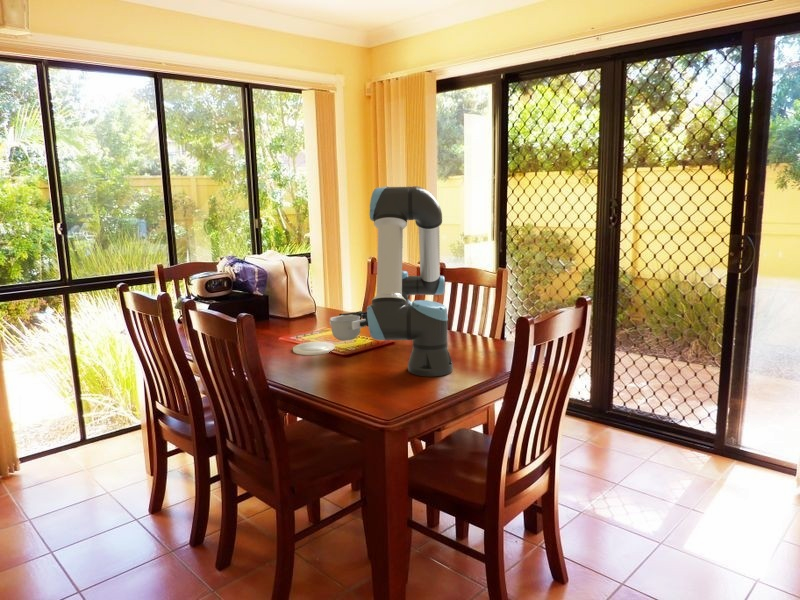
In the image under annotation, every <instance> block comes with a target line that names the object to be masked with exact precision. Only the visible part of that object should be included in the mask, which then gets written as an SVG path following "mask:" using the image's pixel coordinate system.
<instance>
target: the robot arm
mask: <svg viewBox="0 0 800 600" xmlns="http://www.w3.org/2000/svg"><path fill="white" fill-rule="evenodd" d="M442 212H443V211H442V209H441V206H440V204H439V202H438V200H437V199H436V198H435V196H434V195H433V194H432V193H431V192H430V191H429V190H428V189H425V188H424V187H421V186H419V185H418V186H415V185H414V186H387V185H386V186H382V187H381V186H380V187H376V188H375V189H374V190H373V191H372V193H371V197H370V202H369V219H370V220H371V221H372V222H373V226H375V228H376V229H377V266H376V268H377V270H376V295H375V296H374V298H372V299H371V304H369V305H367V306H366V311H362V310H359V311H354V312H346V313H344V312H343V313H339V314H338V316H345V315H357V316H360V320H358V321H353V322H352V330H354V329H358V328H366V327H368V330H369V335H370V336H371V338H372V339H373V340H375V341H385V342H386V341H412V349H411V353H410V355H409V360H408V363H407V371H408V373H410V374H412V375H415V376H420V377H428V378H429V377H432V378H433V377H442V376H445V375H449V374H451V373H452V372H453V370H454V367H453V366H454V365H453V360H452V357H451V354H450V352H449V348H448V345H449V344H448V342H449V341H448V321H449V318H448V310H447V309H448V308H447V307H446V305H444V304H443V303H441V302H437V301H432V300H428V299H427V300H425V299H418V300H413V301H412V300H410V299H409V296H416V295H417V296H419V295H420V296H439V295H444V294H445V293H446V289H445V288H446V287H445V285H446V284H445V282H446V281H445V280H446V279H445V276H444V275H441V274H440V273H441V266H440V263H441V262H440V261H441V257H440V250H441V249H440V244H441V243H440V240H441V239H440V226H441V225H442V224H443V213H442ZM408 221H415V225H416V226H417V227H418V246H419V248H418V250H419V270H420V271H419V272H420V275H409V272H408V271H406V270H403V248H404V247H403V246H404V245H403V241H404V240H403V238H404V237H403V235H404V233H403V232H404V229H405V228H407V226H408ZM338 316H336V317H338ZM334 317H335V316H331V317H329V326H331V321H330V319H331V318H334Z"/></svg>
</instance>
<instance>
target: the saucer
mask: <svg viewBox="0 0 800 600" xmlns="http://www.w3.org/2000/svg"><path fill="white" fill-rule="evenodd" d="M335 345H336V344H333V343H331V342H328V341H309V342H302V343H299V344H296V345H294V346H293V347H292V352H293V353H294V354H296V355H300V356H321V355H326V354H329V352H330V351H332V350H333V349H334V348H335V349H336V346H335ZM332 352H333V351H332ZM330 353H331V352H330Z"/></svg>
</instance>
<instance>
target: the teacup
mask: <svg viewBox="0 0 800 600" xmlns="http://www.w3.org/2000/svg"><path fill="white" fill-rule="evenodd" d="M333 317H334V318H332V317H330V318H331V319H330V318H329V322H330V321H331V325H330V327H331V334H332V336H333V337H334V338H335V339H337V341H352V340H355V339H357V337H358V336H359V335H360V333H361V328H358V329H354V330H352V322H353V321H358V320H360V316H357V315H345V316H339V315H338V317H337V316H333Z"/></svg>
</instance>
